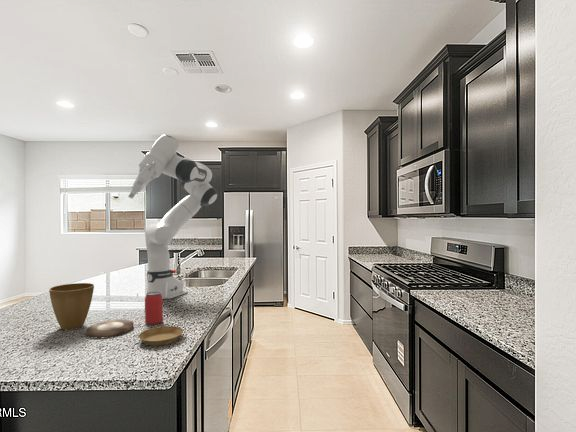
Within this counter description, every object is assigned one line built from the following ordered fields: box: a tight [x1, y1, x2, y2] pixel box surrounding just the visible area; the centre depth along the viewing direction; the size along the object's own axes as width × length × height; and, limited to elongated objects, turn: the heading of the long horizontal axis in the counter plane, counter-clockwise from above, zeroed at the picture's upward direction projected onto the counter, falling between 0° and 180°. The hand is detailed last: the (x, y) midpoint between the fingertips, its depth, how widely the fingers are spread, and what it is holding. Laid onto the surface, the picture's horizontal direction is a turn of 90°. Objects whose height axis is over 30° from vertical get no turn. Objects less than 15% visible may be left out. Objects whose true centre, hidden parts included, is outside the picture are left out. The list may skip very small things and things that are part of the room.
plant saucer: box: [137, 325, 184, 347], centre depth 117 cm, size 15×15×3 cm
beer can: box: [144, 292, 164, 326], centre depth 135 cm, size 7×7×12 cm
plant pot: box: [48, 282, 95, 331], centre depth 131 cm, size 15×15×16 cm
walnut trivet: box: [85, 319, 135, 339], centre depth 127 cm, size 16×16×2 cm
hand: (131, 195), depth 130 cm, fingers open, 8 cm apart
